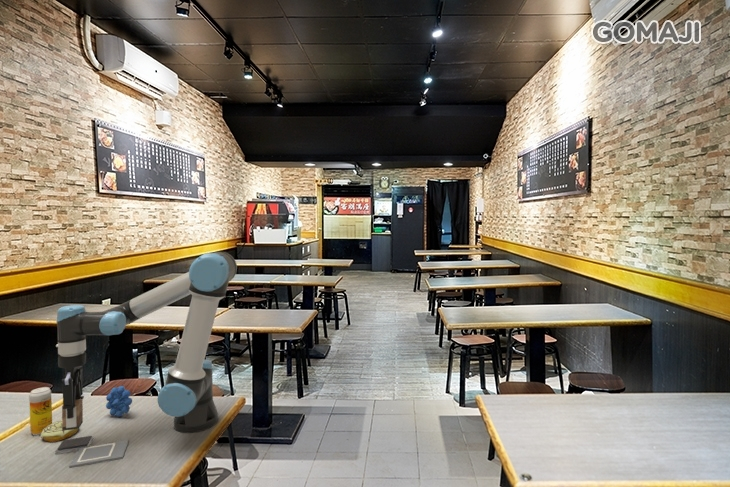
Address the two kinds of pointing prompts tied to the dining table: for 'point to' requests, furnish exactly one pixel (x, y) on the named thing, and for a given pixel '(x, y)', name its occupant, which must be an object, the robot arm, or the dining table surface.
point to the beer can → (40, 409)
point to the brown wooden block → (78, 412)
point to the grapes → (118, 401)
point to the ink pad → (74, 444)
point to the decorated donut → (56, 432)
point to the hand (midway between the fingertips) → (73, 423)
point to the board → (99, 453)
